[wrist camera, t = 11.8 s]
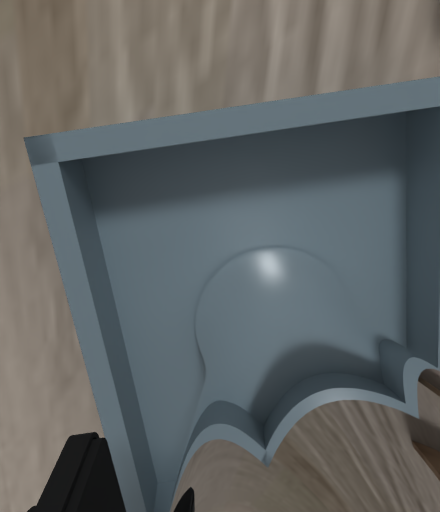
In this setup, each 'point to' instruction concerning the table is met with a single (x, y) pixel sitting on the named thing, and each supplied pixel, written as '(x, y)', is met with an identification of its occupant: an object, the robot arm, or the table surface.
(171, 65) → the table surface
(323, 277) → the silver metal cup
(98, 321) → the slate tray
